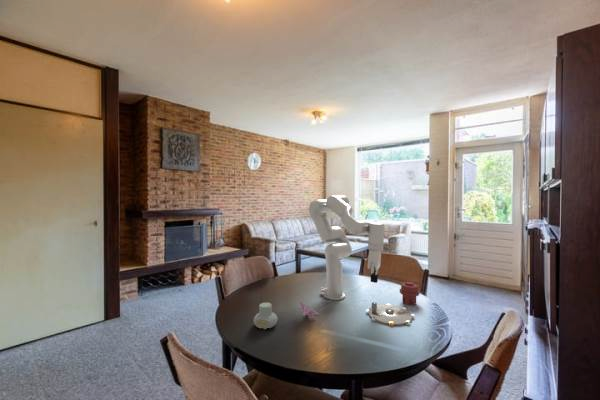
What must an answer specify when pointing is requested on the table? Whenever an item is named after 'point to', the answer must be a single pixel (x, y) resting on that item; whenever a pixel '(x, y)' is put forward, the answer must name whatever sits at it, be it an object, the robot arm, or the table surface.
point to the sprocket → (390, 314)
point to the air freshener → (265, 316)
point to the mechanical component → (409, 293)
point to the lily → (306, 310)
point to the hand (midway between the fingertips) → (374, 281)
